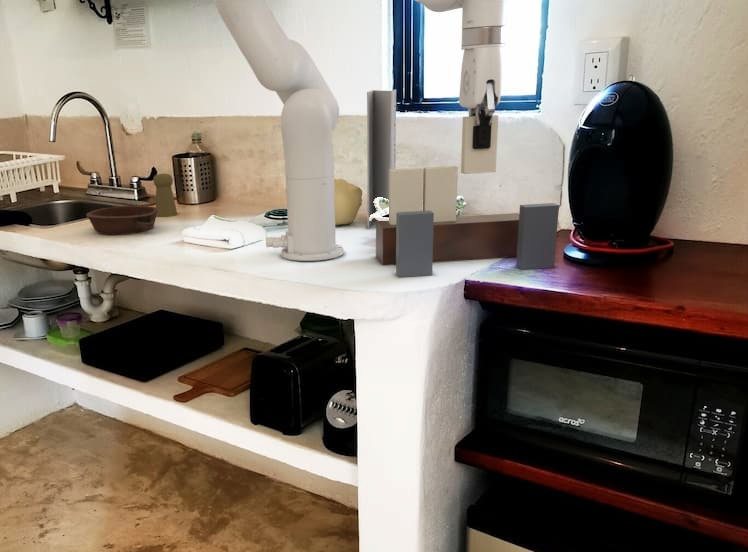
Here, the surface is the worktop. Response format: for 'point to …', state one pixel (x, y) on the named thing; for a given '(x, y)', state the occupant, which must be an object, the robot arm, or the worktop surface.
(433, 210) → the cream book
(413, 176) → the cream book
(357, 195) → the sculpture
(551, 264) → the grey rectangular block
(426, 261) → the grey book left
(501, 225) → the book shelf
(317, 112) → the robot arm
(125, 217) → the dish
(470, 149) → the cream book
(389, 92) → the tall grey panel
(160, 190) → the olive pawn piece
